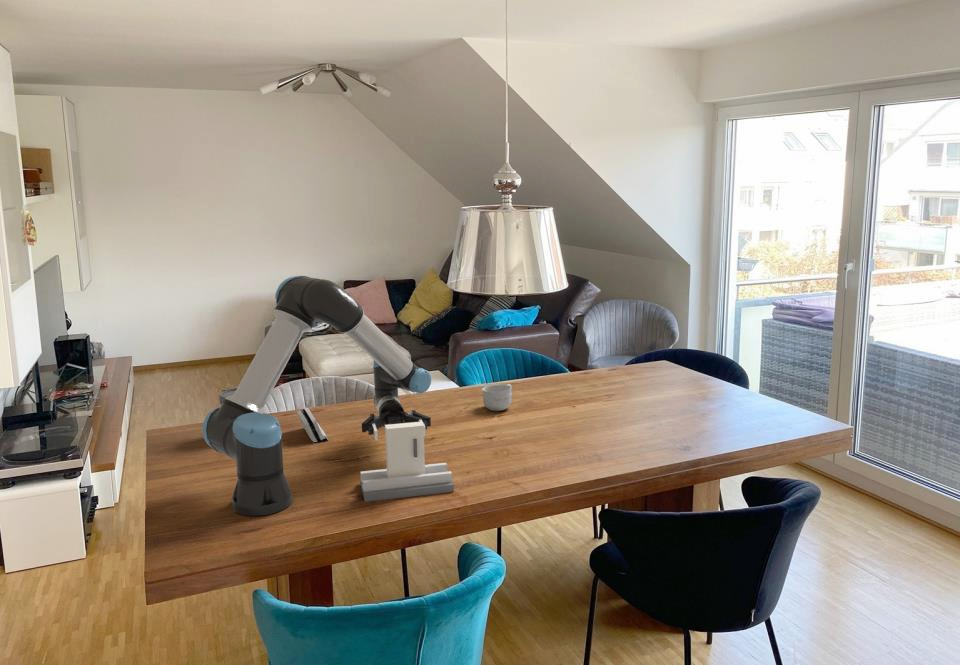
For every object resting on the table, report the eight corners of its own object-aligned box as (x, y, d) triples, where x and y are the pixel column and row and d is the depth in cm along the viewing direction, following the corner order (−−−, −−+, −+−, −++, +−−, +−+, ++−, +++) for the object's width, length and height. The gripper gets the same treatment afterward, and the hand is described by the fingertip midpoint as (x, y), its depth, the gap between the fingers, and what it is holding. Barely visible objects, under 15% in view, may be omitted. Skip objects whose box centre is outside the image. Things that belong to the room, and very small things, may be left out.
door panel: (389, 486, 206) (386, 430, 203) (387, 480, 210) (384, 424, 207) (425, 482, 209) (424, 426, 205) (422, 476, 213) (421, 421, 209)
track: (364, 501, 202) (364, 485, 201) (360, 484, 213) (359, 468, 212) (453, 491, 207) (453, 476, 206) (444, 474, 219) (444, 460, 218)
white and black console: (329, 441, 247) (317, 414, 244) (315, 447, 246) (303, 421, 242) (318, 425, 262) (306, 400, 259) (305, 432, 261) (293, 407, 257)
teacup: (495, 415, 271) (495, 393, 270) (476, 408, 279) (475, 387, 278) (524, 407, 280) (524, 386, 278) (504, 400, 288) (504, 380, 286)
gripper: (430, 419, 240) (444, 441, 220) (350, 426, 234) (356, 450, 214) (430, 396, 238) (443, 416, 218) (349, 402, 233) (355, 424, 212)
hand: (400, 433), depth 216 cm, fingers open, 13 cm apart
